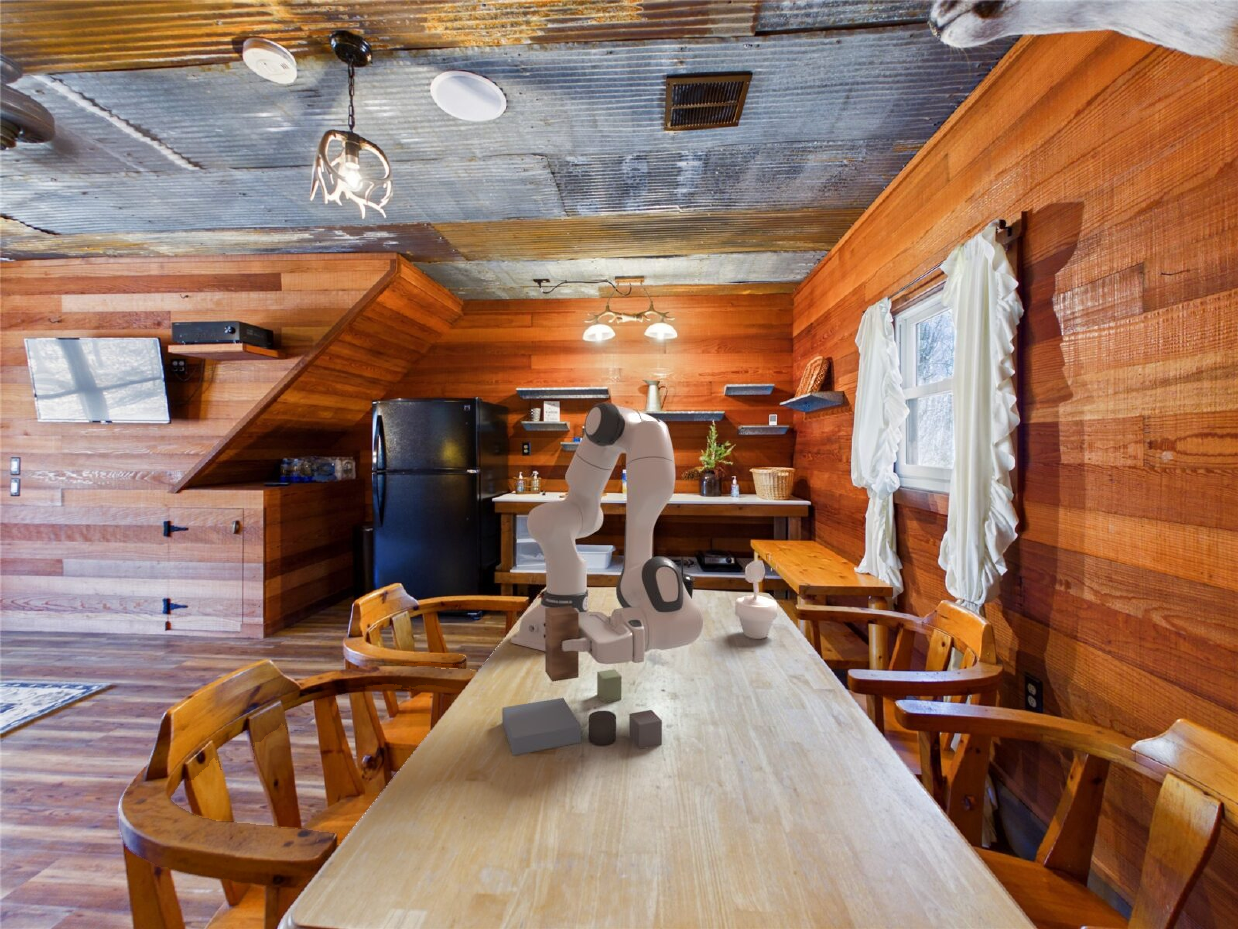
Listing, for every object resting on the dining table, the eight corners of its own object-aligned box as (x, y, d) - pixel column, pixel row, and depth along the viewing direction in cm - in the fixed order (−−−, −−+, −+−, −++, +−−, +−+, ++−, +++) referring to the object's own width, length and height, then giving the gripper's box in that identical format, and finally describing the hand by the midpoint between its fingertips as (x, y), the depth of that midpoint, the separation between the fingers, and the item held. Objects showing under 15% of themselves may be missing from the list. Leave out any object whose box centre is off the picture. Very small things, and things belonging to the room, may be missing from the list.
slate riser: (513, 755, 92) (513, 738, 92) (502, 723, 103) (502, 707, 103) (580, 742, 97) (580, 725, 97) (563, 712, 108) (563, 697, 108)
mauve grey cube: (639, 750, 94) (639, 725, 94) (629, 737, 98) (629, 713, 98) (661, 745, 96) (661, 720, 96) (651, 733, 100) (651, 709, 100)
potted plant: (778, 644, 148) (779, 552, 148) (735, 641, 150) (735, 551, 150) (775, 629, 160) (775, 545, 160) (734, 627, 163) (735, 544, 162)
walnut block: (552, 681, 98) (552, 615, 98) (545, 671, 103) (545, 608, 102) (578, 677, 100) (578, 612, 100) (570, 667, 104) (570, 605, 104)
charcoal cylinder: (583, 743, 97) (584, 721, 96) (595, 730, 101) (595, 708, 101) (609, 748, 95) (610, 726, 95) (620, 735, 99) (620, 713, 99)
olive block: (603, 703, 112) (603, 679, 112) (597, 695, 116) (597, 671, 116) (621, 699, 114) (621, 676, 114) (614, 692, 118) (614, 669, 117)
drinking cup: (665, 622, 167) (666, 558, 166) (675, 616, 173) (675, 554, 173) (689, 626, 163) (689, 560, 163) (697, 619, 170) (698, 556, 170)
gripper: (607, 601, 115) (543, 608, 110) (647, 630, 96) (572, 640, 91) (607, 631, 116) (543, 639, 110) (647, 665, 97) (572, 677, 91)
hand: (556, 639), depth 101 cm, fingers closed on walnut block, 5 cm apart
